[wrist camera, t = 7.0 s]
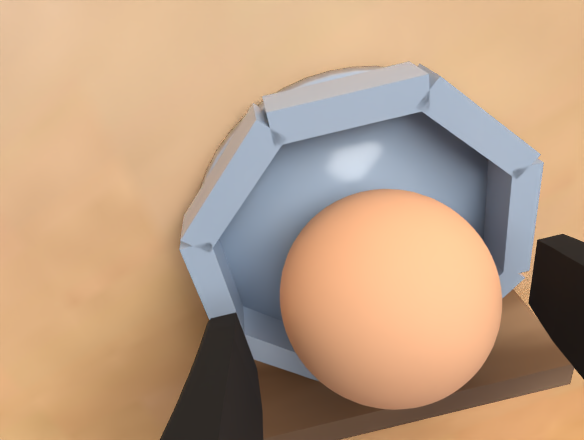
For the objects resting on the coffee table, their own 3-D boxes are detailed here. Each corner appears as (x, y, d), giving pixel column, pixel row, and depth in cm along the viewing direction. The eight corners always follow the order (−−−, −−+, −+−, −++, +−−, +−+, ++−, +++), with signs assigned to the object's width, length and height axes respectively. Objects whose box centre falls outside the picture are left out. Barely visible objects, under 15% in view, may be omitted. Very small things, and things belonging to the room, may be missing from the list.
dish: (489, 295, 16) (520, 336, 15) (242, 355, 16) (244, 403, 15) (509, 27, 11) (559, 43, 9) (147, 113, 11) (134, 143, 9)
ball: (441, 280, 14) (540, 423, 10) (288, 319, 14) (321, 482, 10) (439, 134, 12) (576, 245, 7) (249, 181, 12) (271, 323, 7)
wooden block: (509, 306, 17) (569, 383, 14) (227, 374, 17) (227, 466, 14) (511, 287, 16) (575, 363, 13) (219, 357, 16) (219, 449, 13)
